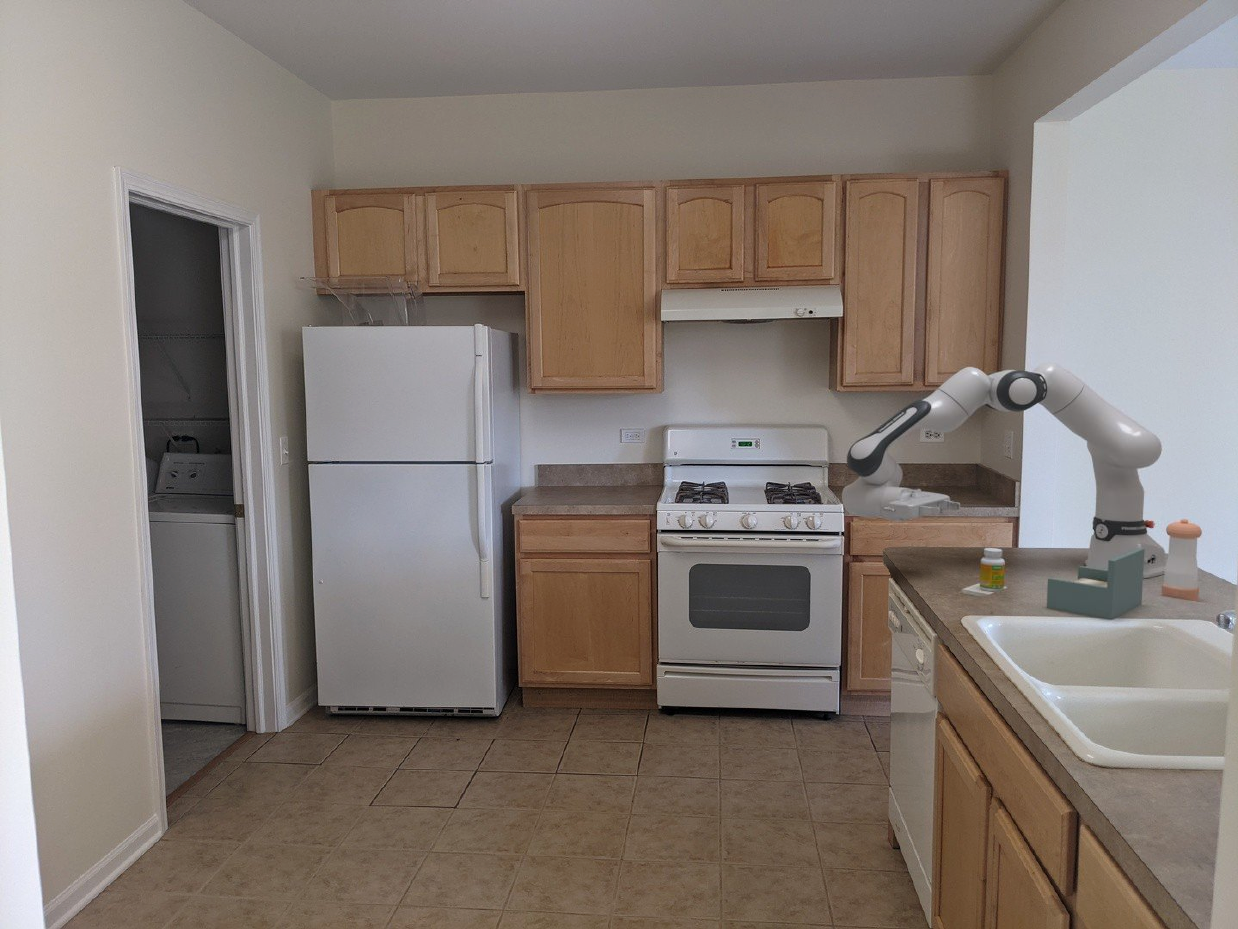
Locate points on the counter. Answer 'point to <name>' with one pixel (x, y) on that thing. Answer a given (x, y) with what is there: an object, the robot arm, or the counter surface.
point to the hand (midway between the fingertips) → (949, 509)
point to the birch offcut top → (1091, 582)
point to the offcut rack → (1101, 588)
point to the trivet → (976, 591)
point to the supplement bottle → (992, 570)
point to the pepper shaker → (1182, 561)
